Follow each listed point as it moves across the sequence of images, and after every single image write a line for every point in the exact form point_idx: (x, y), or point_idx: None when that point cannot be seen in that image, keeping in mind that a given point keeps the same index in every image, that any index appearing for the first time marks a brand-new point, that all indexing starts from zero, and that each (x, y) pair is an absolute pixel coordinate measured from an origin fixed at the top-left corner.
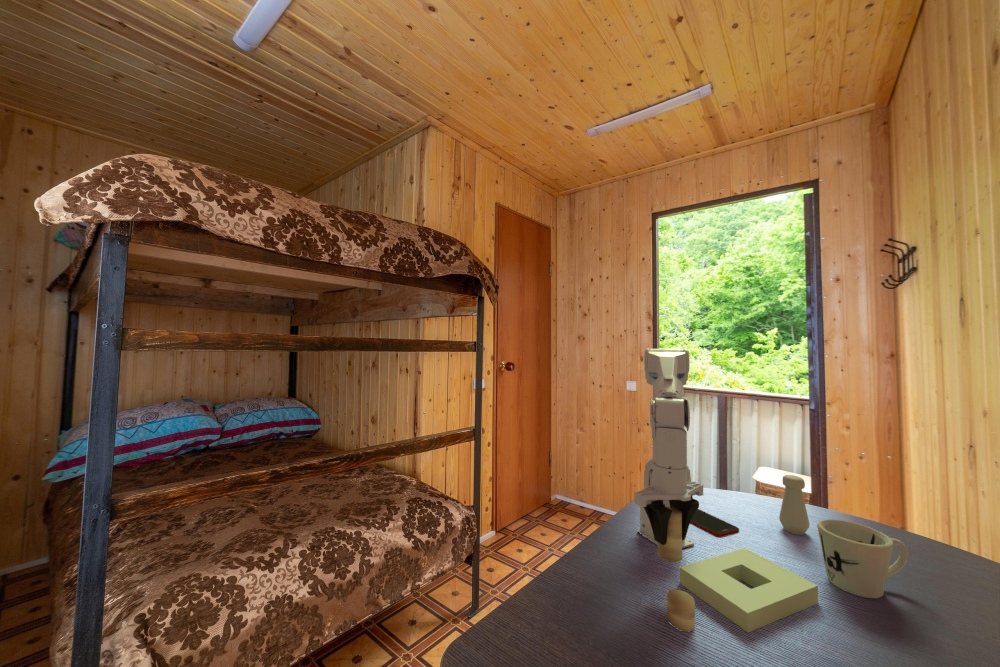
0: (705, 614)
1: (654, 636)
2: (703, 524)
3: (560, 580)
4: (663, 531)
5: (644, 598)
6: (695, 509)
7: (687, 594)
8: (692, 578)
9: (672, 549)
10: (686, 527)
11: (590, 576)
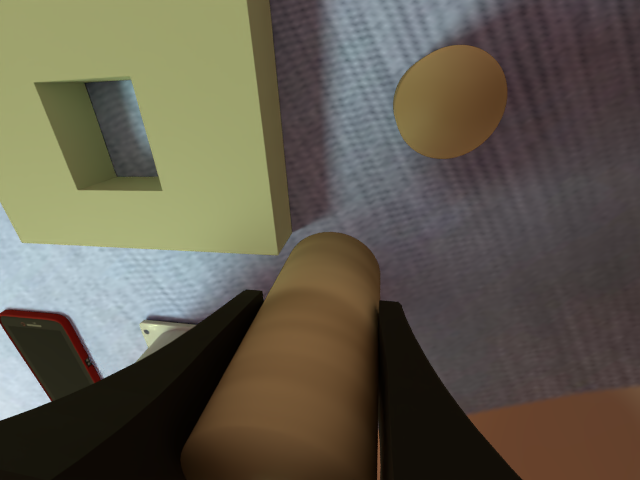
0: (327, 102)
1: (578, 80)
2: (71, 358)
3: (602, 367)
4: (425, 357)
5: (442, 225)
6: (39, 418)
7: (403, 112)
8: (274, 204)
9: (354, 268)
10: (214, 326)
11: (505, 346)
